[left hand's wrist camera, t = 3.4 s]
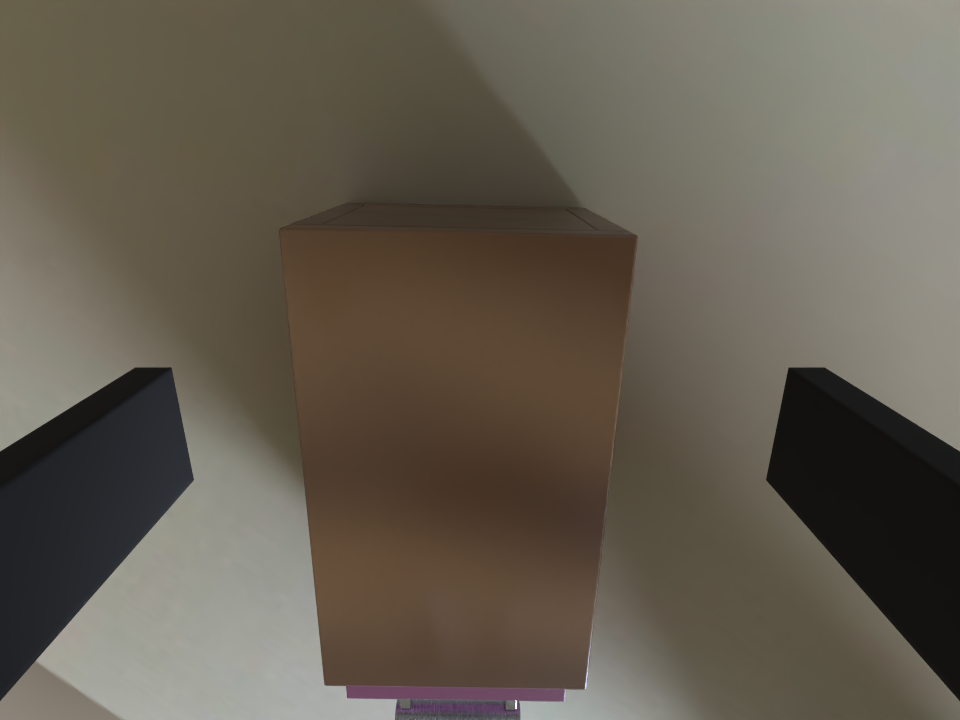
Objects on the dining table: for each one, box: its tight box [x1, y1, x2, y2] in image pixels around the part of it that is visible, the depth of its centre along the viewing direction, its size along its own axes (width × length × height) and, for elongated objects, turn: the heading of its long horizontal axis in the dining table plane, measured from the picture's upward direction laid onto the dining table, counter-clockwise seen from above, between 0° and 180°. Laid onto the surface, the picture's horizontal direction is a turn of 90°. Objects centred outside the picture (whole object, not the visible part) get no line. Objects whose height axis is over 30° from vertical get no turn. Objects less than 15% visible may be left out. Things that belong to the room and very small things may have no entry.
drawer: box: [346, 686, 566, 720], centre depth 26 cm, size 23×10×7 cm, turn 179°
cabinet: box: [279, 203, 638, 690], centre depth 24 cm, size 18×11×9 cm, turn 179°
